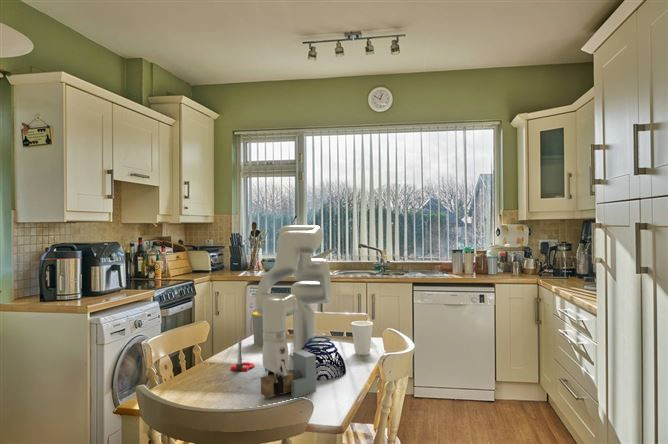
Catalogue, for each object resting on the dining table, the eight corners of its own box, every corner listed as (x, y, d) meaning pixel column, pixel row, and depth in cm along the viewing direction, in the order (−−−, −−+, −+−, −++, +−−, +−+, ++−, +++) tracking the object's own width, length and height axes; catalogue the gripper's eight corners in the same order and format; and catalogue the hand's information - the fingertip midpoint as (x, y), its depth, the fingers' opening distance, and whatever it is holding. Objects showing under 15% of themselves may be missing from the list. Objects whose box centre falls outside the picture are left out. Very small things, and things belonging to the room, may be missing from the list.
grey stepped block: (279, 389, 153) (279, 353, 153) (301, 383, 158) (301, 349, 158) (294, 397, 145) (294, 360, 145) (317, 391, 151) (317, 355, 151)
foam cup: (353, 349, 202) (352, 320, 202) (373, 350, 200) (373, 321, 201) (350, 355, 192) (350, 325, 193) (372, 356, 191) (371, 325, 191)
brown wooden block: (293, 385, 153) (292, 369, 153) (299, 389, 150) (299, 372, 150) (260, 394, 146) (260, 376, 146) (267, 398, 142) (266, 380, 142)
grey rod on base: (237, 364, 183) (228, 370, 173) (237, 332, 183) (228, 336, 174) (256, 365, 181) (249, 371, 172) (257, 333, 182) (249, 337, 173)
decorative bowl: (340, 362, 183) (340, 327, 183) (350, 378, 163) (350, 339, 164) (291, 365, 180) (291, 329, 180) (295, 382, 160) (295, 341, 160)
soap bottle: (284, 341, 218) (284, 297, 219) (272, 348, 206) (272, 301, 206) (260, 339, 222) (259, 296, 223) (247, 346, 210) (247, 300, 210)
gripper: (298, 338, 142) (298, 396, 142) (272, 329, 155) (272, 382, 155) (277, 342, 138) (277, 402, 137) (252, 332, 151) (252, 387, 151)
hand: (275, 391), depth 146 cm, fingers closed on brown wooden block, 4 cm apart
